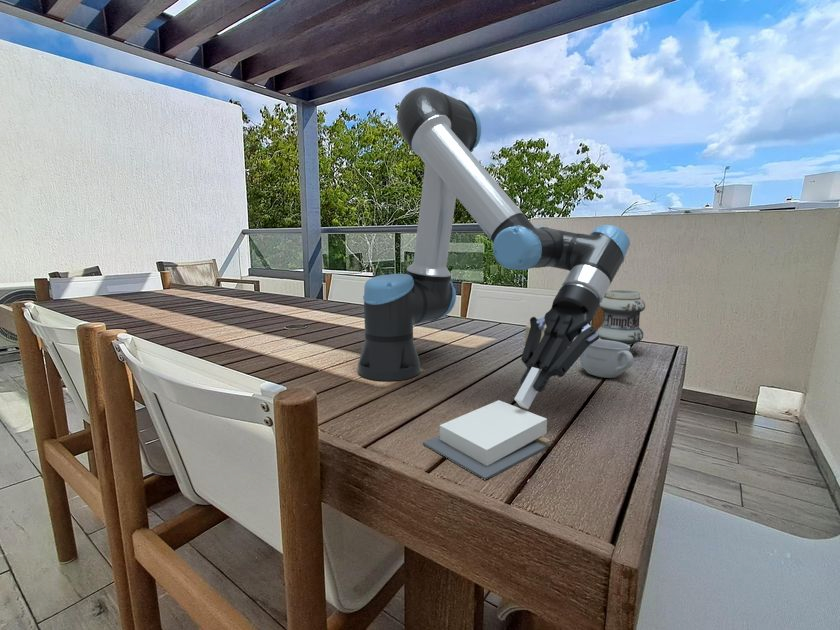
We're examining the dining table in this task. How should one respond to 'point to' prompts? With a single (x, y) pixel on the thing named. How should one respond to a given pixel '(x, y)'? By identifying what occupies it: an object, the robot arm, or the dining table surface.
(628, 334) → the apothecary jar
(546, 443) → the oak strip
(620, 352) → the teacup
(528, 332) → the candle
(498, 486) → the dining table surface
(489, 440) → the tile
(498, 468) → the mat
